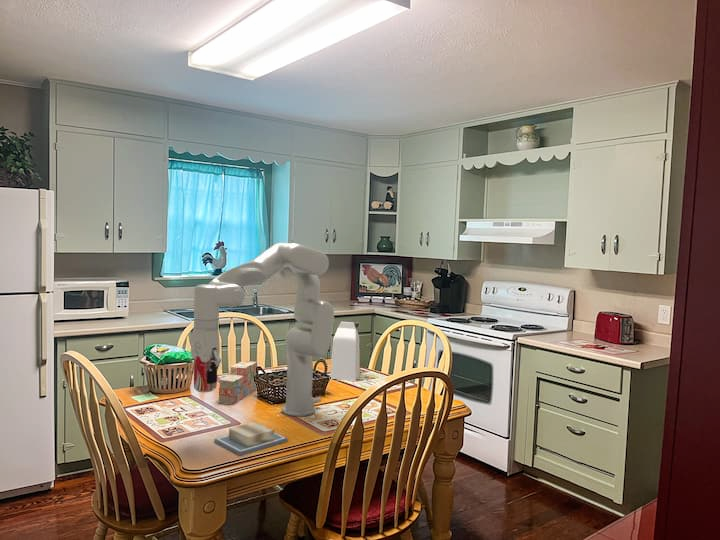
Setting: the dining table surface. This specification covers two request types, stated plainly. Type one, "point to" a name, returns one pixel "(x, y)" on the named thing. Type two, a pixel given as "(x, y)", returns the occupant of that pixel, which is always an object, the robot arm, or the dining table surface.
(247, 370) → the stack of blocks
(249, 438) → the butter dish
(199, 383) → the soda can
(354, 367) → the milk
